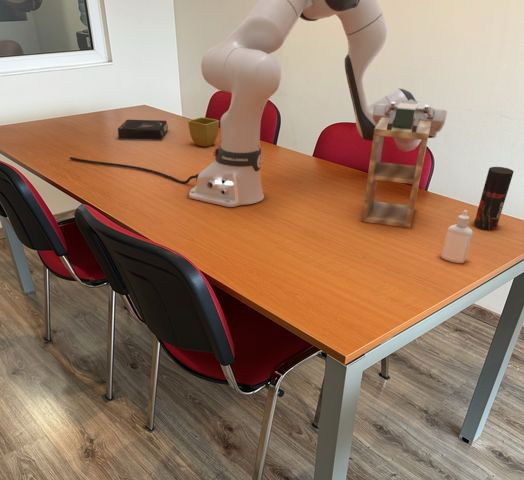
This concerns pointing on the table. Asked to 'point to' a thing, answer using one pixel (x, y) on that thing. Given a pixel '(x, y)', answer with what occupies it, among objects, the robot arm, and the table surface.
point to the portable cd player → (142, 130)
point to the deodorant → (493, 198)
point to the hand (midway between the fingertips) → (409, 106)
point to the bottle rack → (394, 173)
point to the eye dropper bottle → (457, 240)
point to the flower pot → (203, 131)
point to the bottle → (405, 114)
